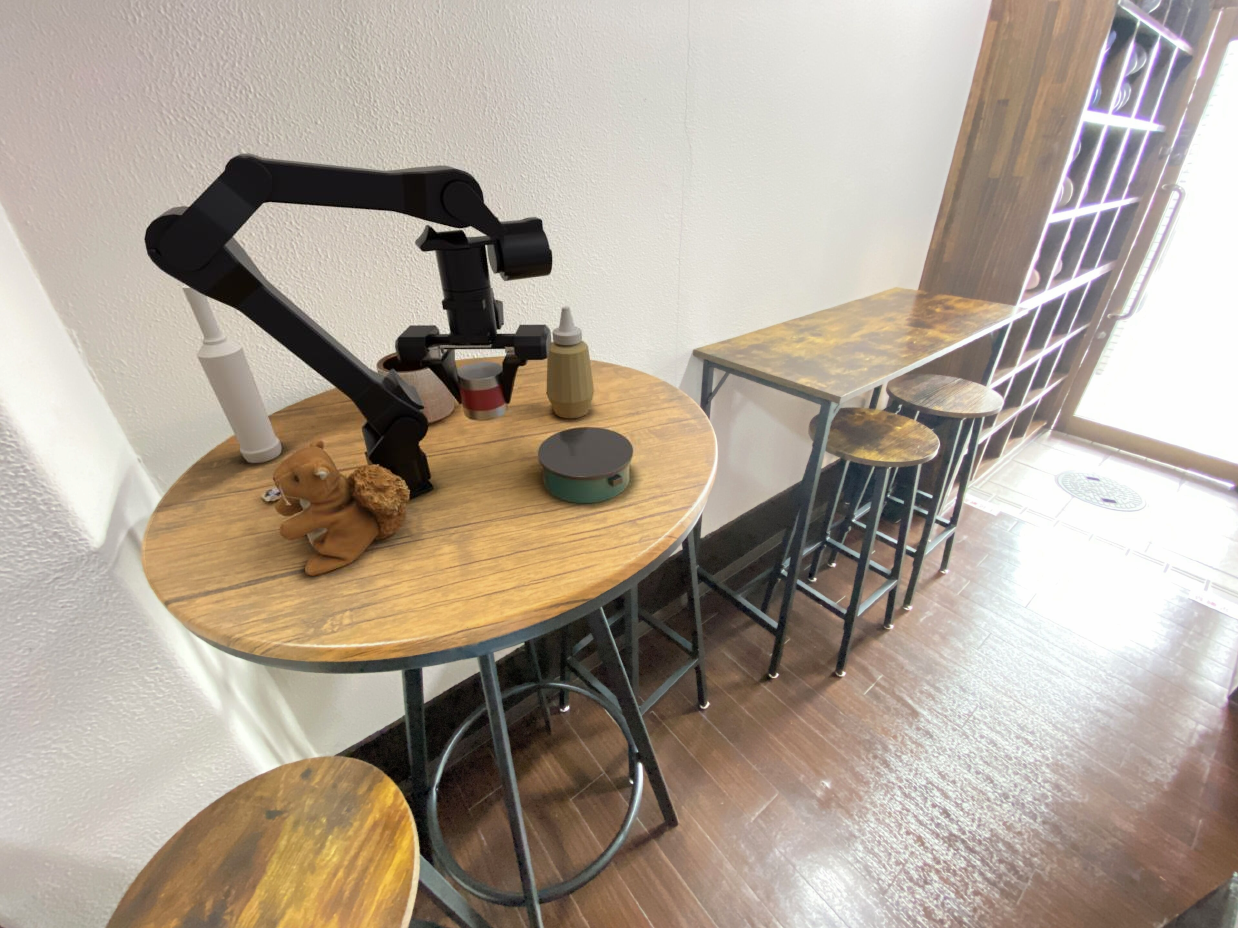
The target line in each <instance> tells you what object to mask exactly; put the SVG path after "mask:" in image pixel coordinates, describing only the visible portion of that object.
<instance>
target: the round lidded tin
mask: <svg viewBox="0 0 1238 928" xmlns="http://www.w3.org/2000/svg"><path fill="white" fill-rule="evenodd" d="M633 458H634V447H633V444H632V442H631V441H630V440H629V439H628V438H627V437H626V436H624V435H623V434H621V433H619V432H617V431H614V430H612V429H609V428H603V427H597V426H596V427H595V426H580V427H573V428H568V429H564V430H561V431H558V432H555V433H554V434H552V435H550V436H549V437H547V438H546V439H544V440H543V441H542V442H541V444H540V445H539V447H538V449H537V460H538V463H539V464H540V466H541V467H542V474H543V483H544V486H545V488H546V490H547V491H548V492H549V493H550V494H551V495H552V496H553V497H555V498H557V499H559V500H562V501H565V502H568V503H574V504H594V503H602V502H603V501H607V500H610V499H613V498H614V497H616V496H619V494H621V493H622V492H623V491H625V489H626V488H627V487H628V485H629V482H630V464H631V462H632V460H633Z"/></svg>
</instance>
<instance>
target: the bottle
mask: <svg viewBox="0 0 1238 928" xmlns="http://www.w3.org/2000/svg"><path fill="white" fill-rule="evenodd" d="M181 288H182V291H183V294H184V295H185V297H186V300H187V302H188V304H189V306H190V308H191V310H192V313H193V314H194V317H195V319H196V322H197V324H198V326H199V328H200V331H201V333H202V336H203V338H202V340H201V341H202V343H203V344H202V345H201V346H200V348H199V349H198V351H197V352H196V355H195V356H196V357H197V359H198V361H199V363H200V365H201V367H202V370H203V371H204V374H205V376H206V378H207V380H208V382H209V384H210V386H211V388H212V390H213V392H214V395H215V396H216V398H217V400H218V403H219V405H220V407H221V409H222V411H223V413H224V415H225V417H226V419H227V421H228V423H229V426H230V429H232V431H233V434H234V436H235V438H236V440H237V442H238V444H239V446H240V448H239V451H240V454H241V455H242V457H243V459H244V460H246V462H247V463H250V464H260V463H265V462H268V461H269V462H270V461H272V460H274V459H276V458H278V457H279V456H280V454H282V450H283V449H282V448H283V447H282V444H281V441H280V439H279V438H278V437H277V436H276V434H275V431H274V429H273V426H272V423H271V421H270V418H269V415H268V412H267V410H266V407H265V405H264V402H263V399H262V396H261V394H260V391H259V388H258V386H257V383H256V380H255V378H254V376H253V373H252V370H251V367H250V365H249V362H248V359H247V357H246V355H245V352H244V349H243V347H242V345H240V344H239V343H237V342H235V341H232V340H231V339H228V338H227V336H226V335H224V334H222V331H221V329H220V327H219V324H218V321H217V320H216V317H215V314H214V312H213V310H212V308H211V306H210V303H209V300H208V297H207V296H205V295H203V294H201V293H199V292H197V291H196V290H194V289H192V288H190V287H189V286H187V285H185V284H183V285H182V286H181Z"/></svg>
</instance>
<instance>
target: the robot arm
mask: <svg viewBox="0 0 1238 928" xmlns="http://www.w3.org/2000/svg"><path fill="white" fill-rule="evenodd" d="M267 203H273V204H275V203H276V204H289V205H300V206H302V205H303V206H316V207H329V208H342V209H357V210H367V211H368V210H369V211H370V210H371V211H383V212H393V213H399V214H402V215H406V216H409V217H412V218H416V219H419V220H423V221H426V222H430V223H433V224H437V225H442V226H446V227H450V228H454V229H455V230H442V231H436V230H435V229H434V228H433V226H431V225H429V224H425V226H424V229H423V231H422V233H421V234H420V235H419V236H418V237H417V239H415V241H414V244H415V246H416V247H417V248H418V249H419V250H420V251H421V252H423V253H427V252H435V258H436V265H437V268H438V274H439V280H440V285H441V290H442V296H443V299H442V300H441V306H442V310H443V311H445V312H446V317H447V323H448V327H449V333H440V329H439V327H438V326H437V325H436V324H429V325H427V324H419V325H418V324H417V325H410V324H409V326H407V328H406V329H405V330H404V331H403V332H402V333H400V334H399V335H398V337H397V338H396V339H395V342H394V349H395V352H396V353H397V357H398V360H400V361H421V362H420V364H421V366H422V367H428V368H429V369H430V370H431V371H432V372H433V373H434V374H435V375H436V376H437V377H438V378H439V379H440V380H441V381H442V382H443V384H444V385H445V386H446V387H447V389H448V390H449V391H450V393H451V394H452V395H453V398H454V400H456V403H458V405H462V402H461V397H460V392H459V386H458V379H457V374H456V373H457V370H458V367H457V364H456V350H504V352H505V353H506V354H505V356H504V358H503V360H502V362H501V366H502V370H503V383H504V396H505V400H506V403H507V404H508V405H509V404H511V400H512V397H513V391H514V387H515V382H516V377H517V373H518V371H519V367H524V366H526V365H527V364H528V362H529V361H543V360H546V359H547V357H548V354H549V351H550V348H551V344H552V342H553V341H552V332H551V329H550V328H549V327H548V326H547V324H519V325H518V327H517V330H516V331H515V333H498V330H501V329H502V327H503V326H504V325H505V317H504V301H502V300H499V299H496V298H495V294H494V293H495V292H494V290H493V287H492V284H491V277H490V270H489V266H490V269H491V271H492V273H493V274H494V275H496V274H497V275H498V274H499V276H500V278H501V279H502V280H503V282H509V281H510V282H511V281H517V280H525V279H533V278H540V277H548V276H550V275H551V273H552V269H553V251H552V249H551V248H550V243H549V240H548V236H547V234H546V231H545V230H544V224H543V220H542V218H539V217H537V216H530V217H524V218H522V219H516V220H505V221H504V220H503V221H500V220H499V217H498V216H496V215H495V214H494V212H492V210H491V209H490V208H489V206H487V204H486V203H485V198H484V191H483V189H482V187H481V186H480V183H479V182H478V180H476V178H475V177H474V176H473V175H472V174H471V173H469V172H468V171H465V170H463V169H459V168H455V167H452V166H449V165H445V164H444V165H443V164H442V165H430V166H427V165H426V166H418V167H417V166H415V167H408V168H402V169H401V168H400V169H389V170H382V169H381V170H380V169H373V168H365V167H364V168H363V167H353V166H343V165H335V164H324V163H317V162H316V163H315V162H306V161H296V160H289V159H277V158H268V157H262V156H259V155H257V154H254V153H248V152H245V153H239V154H237V155H235V156H233V157H231V158H230V159H229V160H228V161H227V162H226V164H225V166H224V170H223V171H222V172H221V173H220V174H219V176H217V178H216V179H214V180H213V182H211V184H209V186H207V188H206V189H204V191H203V192H202V193H201V194H200V195H199V196H198V197H197V198H196V199H195V200H194V201H193V202H192V203H191V204H190V205H189V206H186V205H181V206H174V207H172V208H169V209H168V210H166V211H164V212H163V213H161V214H160V215H158V216H157V217H156V218H155V219H153V220H152V221H151V222H150V224H148V226H147V228H146V229H145V233H144V244H145V249H146V254H147V256H148V257H149V259H150V260H151V262H152V263H153V264H154V265H155V266H156V267H157V268H158V269H159V270H161V271H162V272H163V273H165V274H166V275H168V276H170V277H172V278H173V279H175V280H177V281H179V282H180V283H181V284H183V285H187V286H189V287H190V288H192V289H194V290H196V291H197V292H199V293H201V294H203V295H205V296H206V297H207V298H209V299H211V300H214V301H217V302H218V303H221V304H223V305H226V306H228V307H230V308H233V309H235V310H236V311H238V312H240V313H241V314H243V316H245V317H246V318H248V319H249V320H250V321H251V322H253V323H254V324H255V325H256V326H257V327H259V328H260V329H262V330H263V331H264V332H265V333H267V334H268V335H269V336H270V337H271V338H272V339H274V340H275V341H277V342H278V343H279V344H281V346H283V347H284V348H286V349H287V350H288V351H289V352H290V353H292V354H293V355H294V356H295V357H297V358H298V359H299V360H301V361H302V362H303V363H304V364H305V365H306V366H308V367H309V368H310V369H312V370H313V371H314V372H315V373H316V374H318V375H319V376H321V377H322V378H323V379H325V380H326V381H327V382H328V383H330V384H331V385H332V386H334V387H335V388H336V389H337V390H339V391H340V392H341V393H342V394H343V395H345V396H347V398H349V399H350V401H351V402H353V404H354V405H355V407H356V408H357V409H358V411H359V413H361V415H362V416H363V417H364V419H365V420H366V421H365V422H364V424H363V425H362V426H361V432H362V436H363V440H364V444H365V445H364V446H365V449H366V451H364V457H365V460H366V464H367V465H368V466H369V465H370V466H371V465H373V464H374V465H378V464H379V466H381V467H383V468H386V469H387V470H390V471H391V472H392V474H395V475H396V476H399V477H401V478H402V480H405V484H406V486H408V489H409V490H410V495H409V497H410V498H409V500H411V499H414V498H415V497H418V496H421V495H423V494H426V493H429V492H432V491H433V490H434V489H435V487H434V484H433V483H432V482H431V481H430V480H431V479H432V474H431V469H430V465H429V462H428V457H427V454H426V453H425V452H424V451H423V449H422V448H421V446H420V442H422V441H423V440H424V439H425V437H426V436H427V433H428V431H429V424H428V420H427V417H426V415H425V413H424V411H423V409H424V405H423V403H422V401H421V399H420V397H419V395H418V392H417V390H416V388H415V387H414V386H411V385H409V384H407V383H406V382H404V381H403V380H402V379H401V377H400V376H399V375H398V374H397V372H396V371H395V370H394V369H391V370H390V372H389V373H388V374H387V375H386V376H384V375H382V374H379V373H378V371H374V370H373V369H371V368H369V366H367V365H366V364H365V363H363V361H361V359H359V358H358V357H357V356H356V355H355V354H353V352H351V351H350V350H349V349H348V348H347V347H345V345H343V344H342V343H340V342H339V341H338V340H337V339H336V338H335V337H334V336H333V335H331V334H330V333H329V332H328V331H327V330H326V329H325V328H323V327H322V326H321V325H320V324H319V323H318V322H316V321H315V320H314V319H312V317H311V316H309V315H308V314H307V313H306V312H305V311H304V310H302V309H301V308H300V307H299V306H298V305H297V304H295V303H294V302H293V301H292V300H291V299H289V298H288V296H286V295H285V294H284V293H282V291H280V290H279V289H278V288H277V287H276V286H275V285H273V284H272V283H271V281H269V280H268V279H267V278H266V276H264V275H263V273H262V271H261V270H260V269H259V267H258V266H257V265H256V264H255V262H254V261H253V260H252V258H251V257H250V255H249V254H248V253H247V251H246V250H245V249H244V247H242V245H241V244H240V243H239V242H238V241H237V240H236V238H235V235H236V234H237V233H238V232H239V231H240V229H241V228H242V227H243V226H244V225H245V224H246V223H247V222H248V220H249V219H251V217H253V215H254V214H255V213H256V212H257V210H259V209H260V208H261V206H262V205H263V204H267ZM470 227H471V228H473V229H474V230H476V231H478V232H480V233H481V234H483V235H478V236H477V235H476V236H467V234H466V233H465V231H464V230H463V229H467V228H470ZM379 466H378V467H379Z"/></svg>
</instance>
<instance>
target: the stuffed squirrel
mask: <svg viewBox="0 0 1238 928" xmlns="http://www.w3.org/2000/svg"><path fill="white" fill-rule="evenodd" d="M324 447H325V443H324V441H323V440H322V439H320V438H317V439H314V440H313V441H311V443H310V444H309V446H306V447H303V448H300V449H298V450H296V451H294V452H293V453H292V454H290V455H289V456H288V457H286V458H285V459H284V460H282V462H280V464H279V465H278V466H277V467H276V468H275V469H274V471H273V473H272V480H273V483H274V485H275V487H277V489H278V490H279V492H280V493H281V496H282V497H280V499H277V500H278V501H276V503H274V509H275V511H276V512H277V513H278V514H279V515H281V516H284V517H290V518H288V519H286V520H284V521H282V523H281V524H280V525H279V528H278V533H279V535H280V537H282V538H283V539H284V540H287V541H294V540H298V539H301V538H302V537H304V536H306V535H307V539H308V542H309V543H310V545H311V546H312V547H313V548H314V550H316V553H314V554H313V555H312V556H311V557H310V558H309V559H308V561H307V563H306V565H305V567H304V571H305V573H306V574H307V575H308V576H311V577H313V576H318V575H322V574H325V573H328V572H330V571H331V572H332V571H333V570H337V569H340V568H342V567H344V566H347V565H349V564H351V563H352V562H354V561H355V560H357V559H358V558H359V557H360V555H361V556H362V554H363V553H364V552H365V550H367V548H368V547H369V546H370V545H371V544H372V542H373V541H374V540H375V541H378V540H382V539H385V538H387V537H389V536H391V535H393V534H395V533H397V532H398V531H399V530H400V528H401V527H402V526H403V525H404V524H405V518H406V514H408V513H407V512H408V511H406V505H407V504H408V503H407V502H409V501H410V499H409V498H410V497H409V495H410V490H409V489H408V486H406V484H405V480H402V478H401V477H399V476H396V475H395V474H392V472H391V471H390V470H387V469H386V468H383V467H381V466H379V464H378V465H374V464H373V465H371V466H370V465H369V466H368V464H366V465H362V466H359V467H357V468H356V469H355V470H353V472H352V473H350V475H349V476H345V475H344V474H342V473H340V472H339V470H338V468H337V466H336V464H335V462H334V460H333V459H332V457H331V456H330V454H329V453H327V451H326V450H325V449H324ZM378 466H379V467H378Z"/></svg>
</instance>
